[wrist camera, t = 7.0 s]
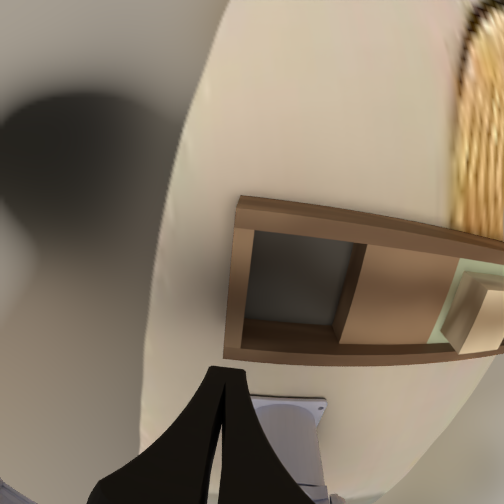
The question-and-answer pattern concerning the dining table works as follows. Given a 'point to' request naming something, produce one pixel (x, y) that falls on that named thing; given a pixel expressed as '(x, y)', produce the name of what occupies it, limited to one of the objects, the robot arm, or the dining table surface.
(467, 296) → the maple block
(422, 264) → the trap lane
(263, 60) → the dining table surface
